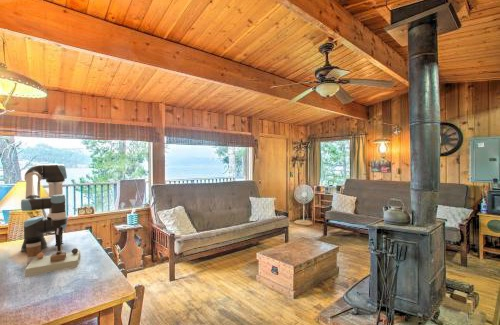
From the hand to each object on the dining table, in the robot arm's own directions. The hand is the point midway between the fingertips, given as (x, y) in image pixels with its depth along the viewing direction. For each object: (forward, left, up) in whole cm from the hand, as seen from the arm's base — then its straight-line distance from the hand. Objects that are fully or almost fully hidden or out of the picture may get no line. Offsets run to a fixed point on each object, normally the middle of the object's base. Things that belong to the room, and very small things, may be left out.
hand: (59, 255), depth 167 cm
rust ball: (-4, -11, +1) cm, 11 cm away
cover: (+4, 0, -1) cm, 4 cm away
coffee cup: (-15, -16, -5) cm, 23 cm away
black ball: (-2, +8, +1) cm, 8 cm away
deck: (+3, -2, -5) cm, 6 cm away
